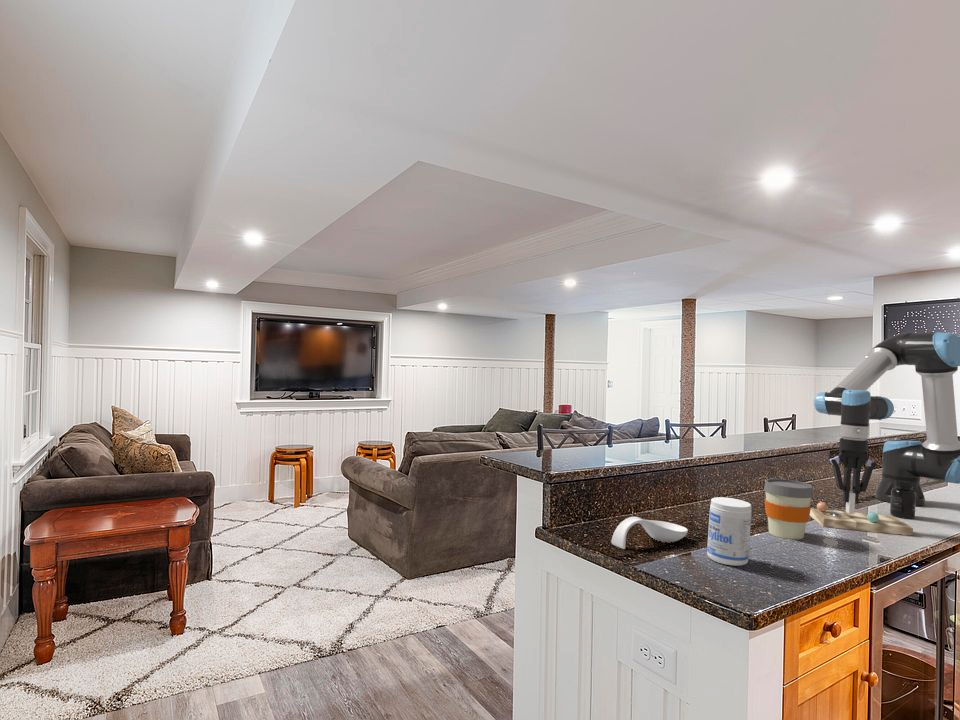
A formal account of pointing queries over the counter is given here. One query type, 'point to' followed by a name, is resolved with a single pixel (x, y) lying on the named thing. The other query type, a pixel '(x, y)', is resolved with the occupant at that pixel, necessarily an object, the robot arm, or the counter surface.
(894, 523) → the maple board
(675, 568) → the counter surface
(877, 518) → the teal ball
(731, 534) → the supplement tub
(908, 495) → the supplement bottle
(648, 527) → the spoon rest
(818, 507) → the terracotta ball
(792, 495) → the reusable coffee cup
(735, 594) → the counter surface
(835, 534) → the counter surface
